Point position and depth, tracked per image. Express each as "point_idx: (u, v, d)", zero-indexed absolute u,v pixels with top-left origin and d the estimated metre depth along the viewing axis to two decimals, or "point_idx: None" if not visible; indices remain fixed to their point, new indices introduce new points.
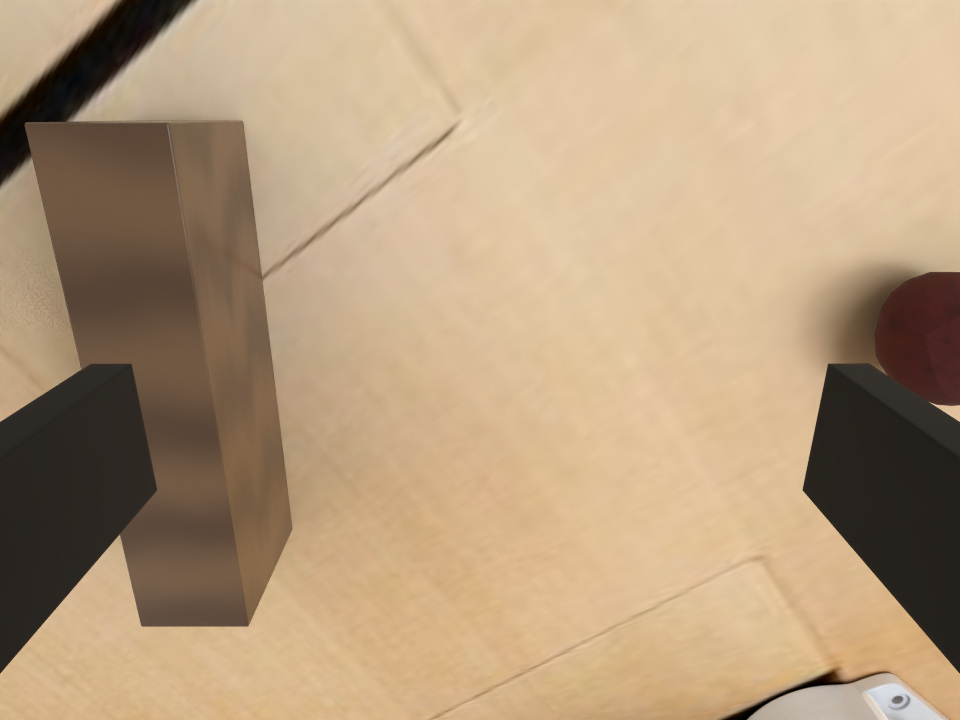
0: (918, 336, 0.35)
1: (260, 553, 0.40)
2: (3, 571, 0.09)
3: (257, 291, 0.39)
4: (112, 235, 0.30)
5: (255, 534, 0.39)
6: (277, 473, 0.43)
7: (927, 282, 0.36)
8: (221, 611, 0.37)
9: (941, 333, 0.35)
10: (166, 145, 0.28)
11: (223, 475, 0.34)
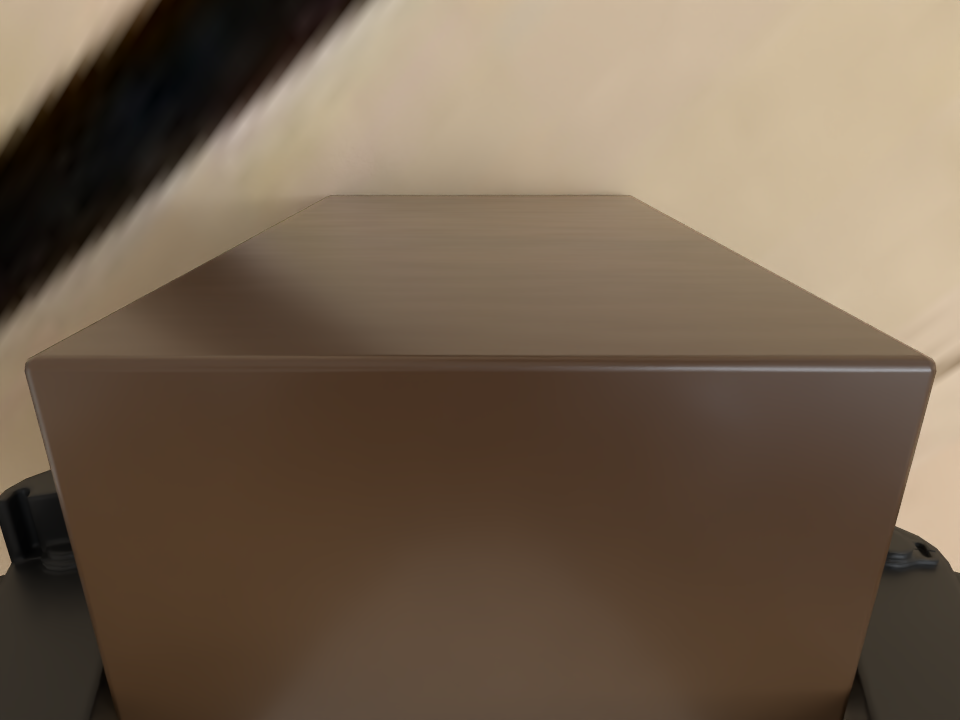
0: None
1: None
2: None
3: None
4: None
5: None
6: None
7: None
8: None
9: None
10: (883, 479, 0.05)
11: None
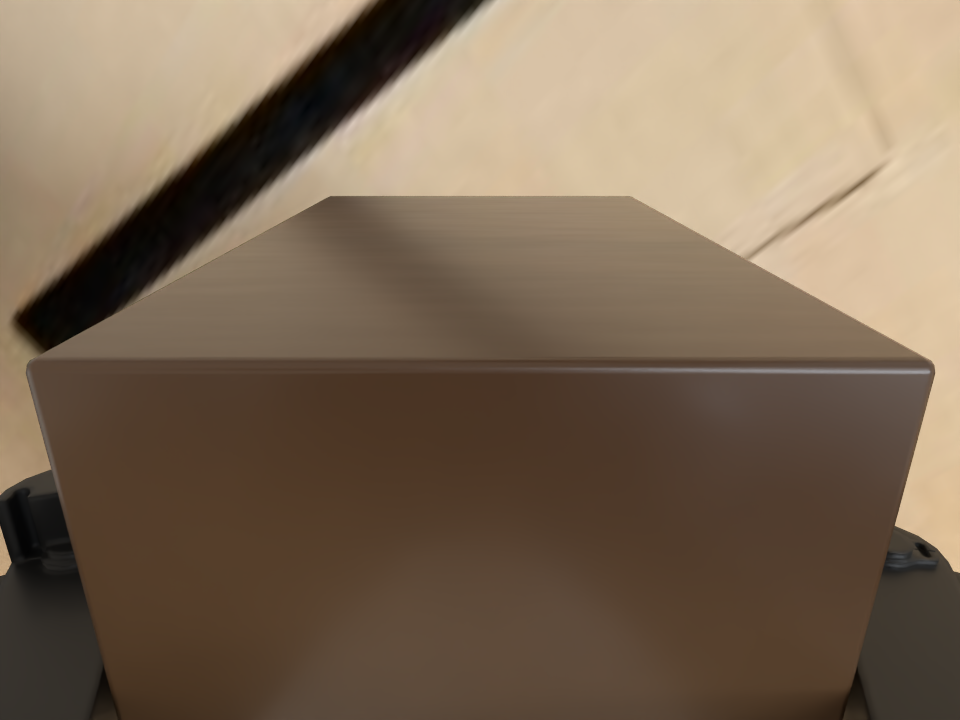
0: None
1: None
2: None
3: None
4: None
5: None
6: None
7: None
8: None
9: None
10: (882, 482, 0.05)
11: None
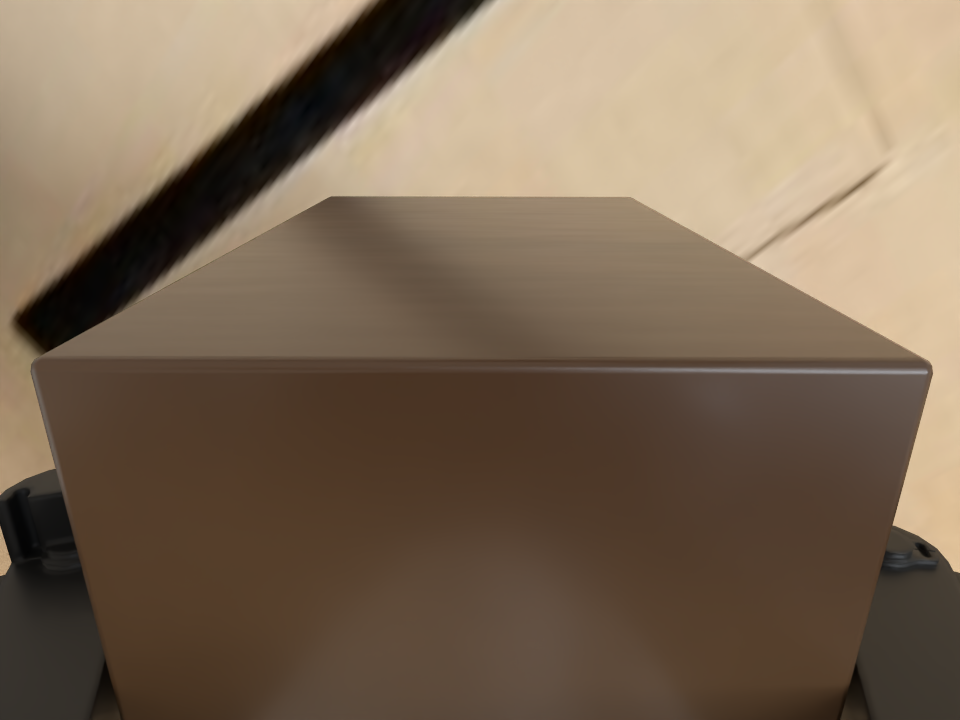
0: None
1: None
2: None
3: None
4: None
5: None
6: None
7: None
8: None
9: None
10: (881, 481, 0.05)
11: None
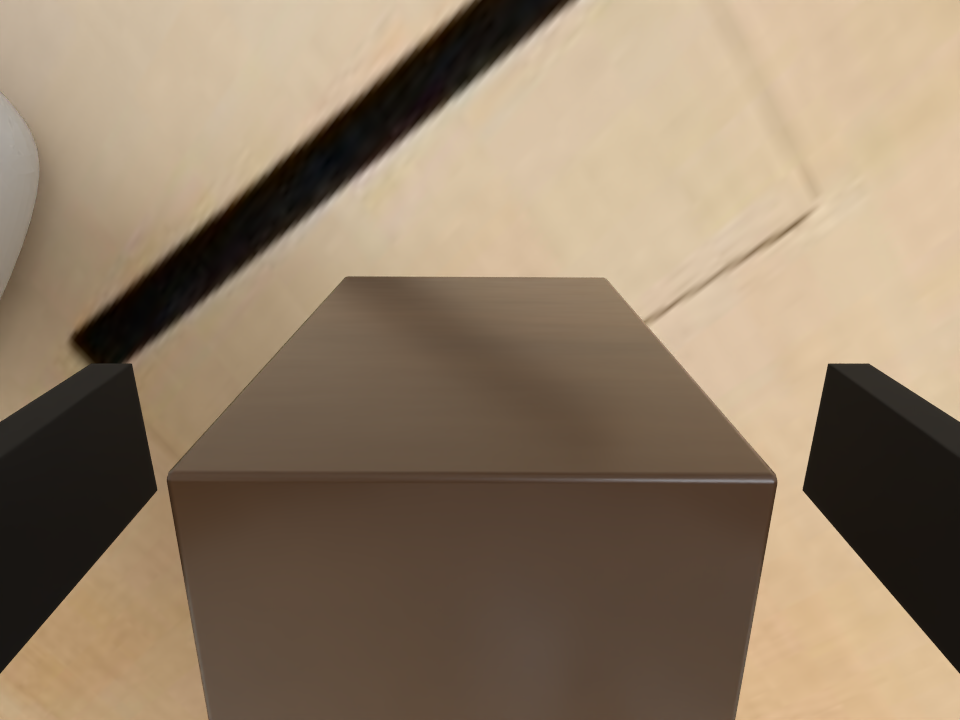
0: None
1: None
2: (3, 571, 0.09)
3: None
4: None
5: None
6: None
7: None
8: None
9: None
10: (747, 553, 0.07)
11: None
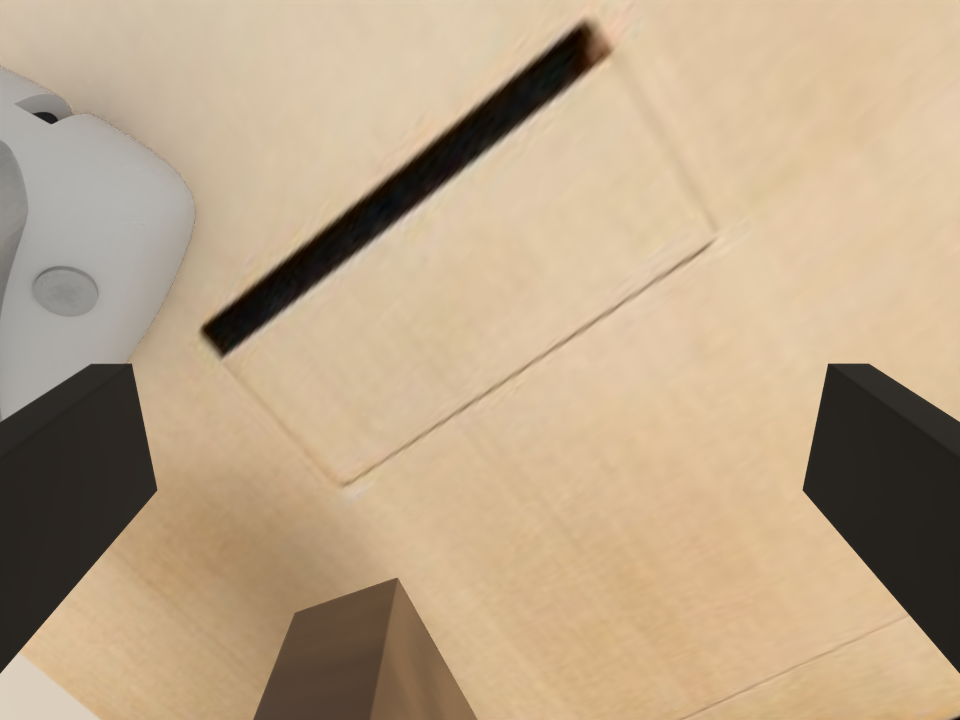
0: None
1: None
2: (3, 571, 0.09)
3: None
4: None
5: None
6: None
7: None
8: None
9: None
10: None
11: None
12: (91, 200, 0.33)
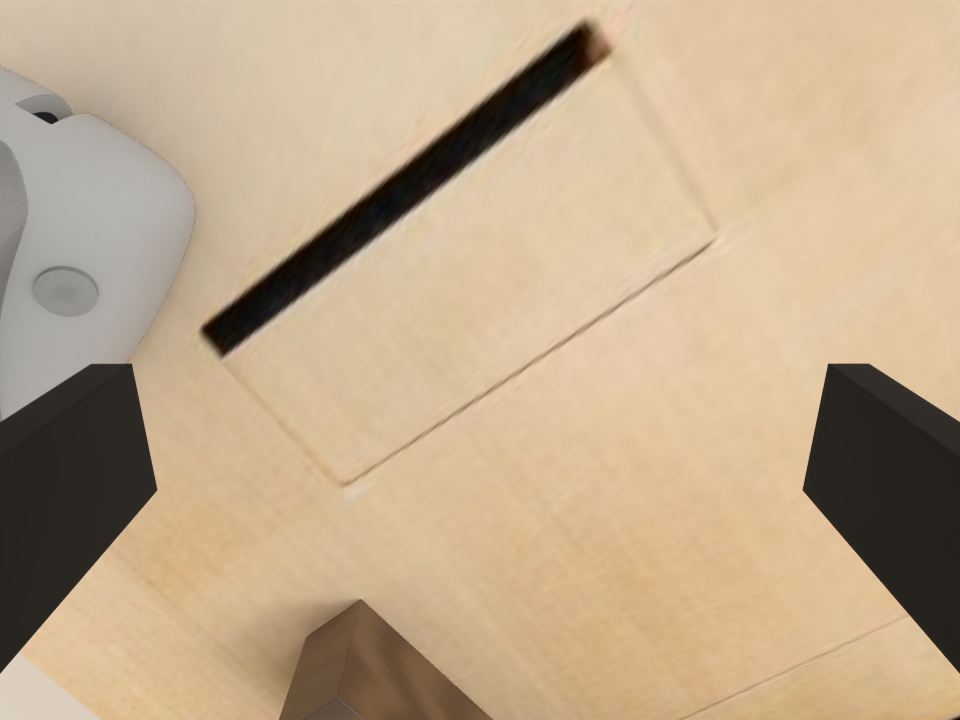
0: None
1: None
2: (3, 571, 0.09)
3: (437, 680, 0.54)
4: None
5: None
6: None
7: None
8: None
9: None
10: (344, 706, 0.44)
11: None
12: (91, 200, 0.33)
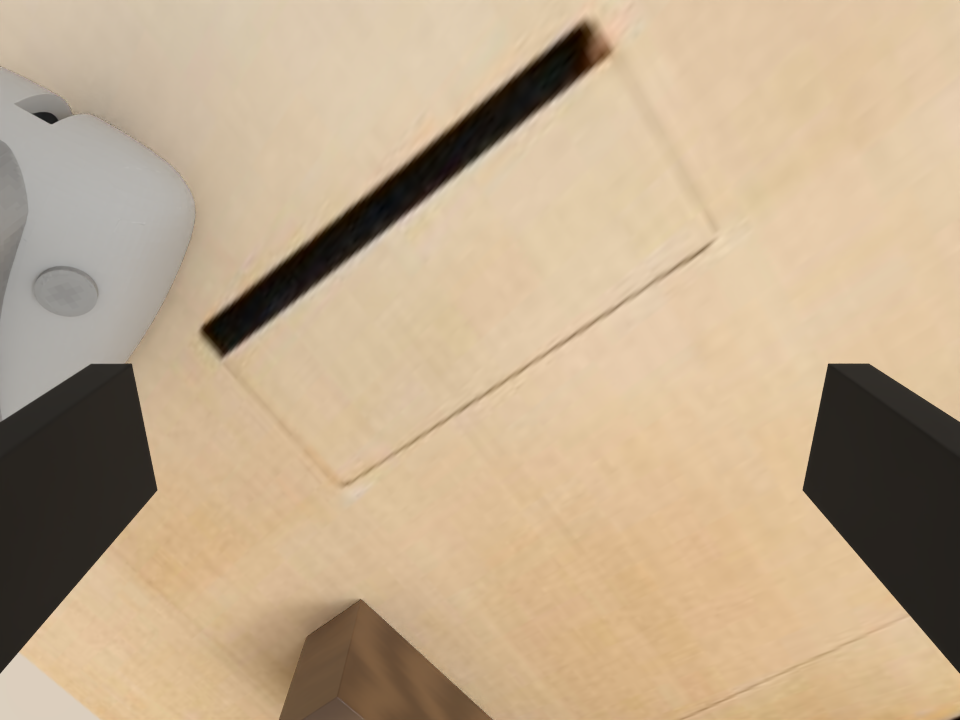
0: None
1: None
2: (3, 571, 0.09)
3: (437, 680, 0.54)
4: None
5: None
6: None
7: None
8: None
9: None
10: (344, 706, 0.44)
11: None
12: (91, 200, 0.33)
